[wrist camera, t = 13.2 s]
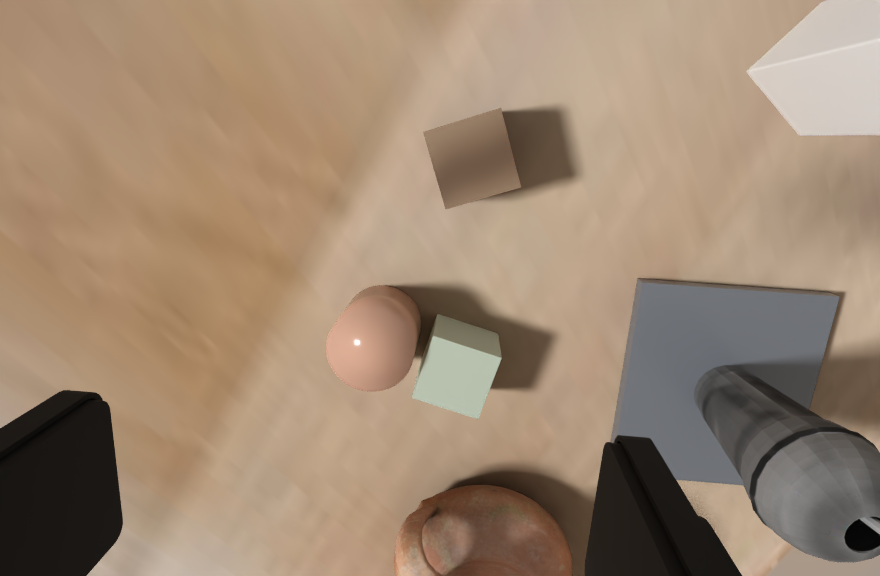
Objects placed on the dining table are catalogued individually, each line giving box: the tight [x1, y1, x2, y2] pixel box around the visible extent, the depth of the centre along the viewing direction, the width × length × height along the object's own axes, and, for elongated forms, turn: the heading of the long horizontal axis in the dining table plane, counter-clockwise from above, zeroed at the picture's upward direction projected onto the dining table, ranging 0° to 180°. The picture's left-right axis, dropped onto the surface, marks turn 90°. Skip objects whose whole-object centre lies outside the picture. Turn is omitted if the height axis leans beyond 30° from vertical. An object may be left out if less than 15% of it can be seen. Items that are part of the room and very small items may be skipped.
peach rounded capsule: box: [326, 286, 421, 392], centre depth 40 cm, size 6×6×6 cm
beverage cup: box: [694, 365, 880, 562], centre depth 32 cm, size 7×7×20 cm
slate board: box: [611, 279, 839, 485], centre depth 42 cm, size 16×14×1 cm
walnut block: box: [423, 108, 521, 209], centre depth 37 cm, size 5×5×5 cm
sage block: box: [412, 314, 502, 419], centre depth 41 cm, size 5×5×5 cm
